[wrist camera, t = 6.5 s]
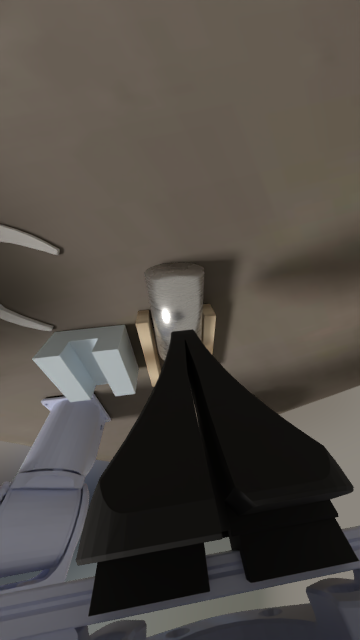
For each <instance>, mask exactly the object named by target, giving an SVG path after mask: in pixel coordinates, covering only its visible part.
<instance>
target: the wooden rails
mask: <svg viewBox="0 0 360 640" xmlns="http://www.w3.org/2000/svg"><path fill="white" fill-rule="evenodd" d="M215 321H216V314H215V313H214V311H213V309H212V307H211V305H210V304H203V316H202V338H201V341H202V343H203V344H204V345H205V347H206V348H207V349H208V350H209V352H210V353H211V354H212V353H213V342H214V332H215ZM136 327H137V331H138V335H139V339H140V342H141V346H142V350H143V354H144V357H145V361H146V365H147V368H148V372H149V376H150V380H151V383H152V387H155V385H156V382H157V380H158V378H159V375H160V373H161V369H160V364H159V359H158V354H157V349H156V343H155V338H154V333H153V328H152V323H151V318H150V313H149V310H142V311H138V315H137V319H136Z"/></svg>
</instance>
